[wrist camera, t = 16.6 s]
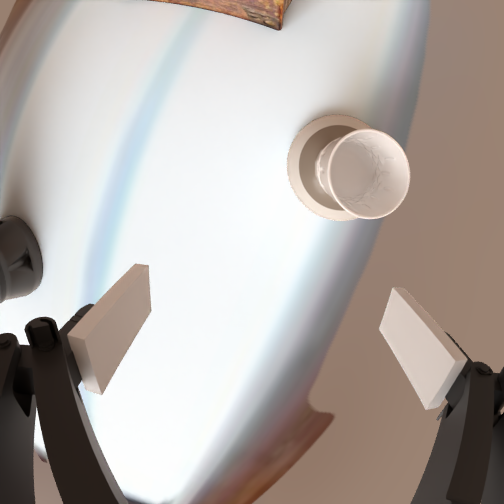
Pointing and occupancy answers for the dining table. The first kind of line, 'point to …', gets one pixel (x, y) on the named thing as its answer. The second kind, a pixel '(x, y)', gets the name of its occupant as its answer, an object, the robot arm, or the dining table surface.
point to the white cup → (364, 173)
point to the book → (243, 9)
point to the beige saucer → (304, 163)
